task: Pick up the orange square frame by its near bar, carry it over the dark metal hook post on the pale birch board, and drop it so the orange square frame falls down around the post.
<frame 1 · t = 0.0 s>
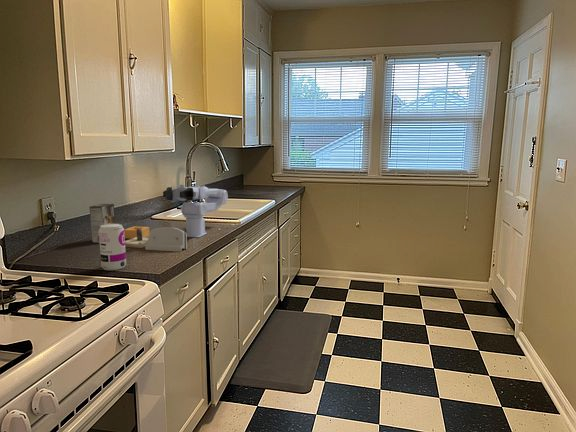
hand: (172, 194, 184), 22 cm above the worktop, tool horizontal, fingers open, 7 cm apart
coffee box: (104, 240, 197), on the worktop
supplement can: (114, 268, 154), on the worktop
orange square frame: (137, 236, 204), on the worktop
keeper board: (140, 243, 191), on the worktop
grey napkin holder: (167, 249, 182), on the worktop
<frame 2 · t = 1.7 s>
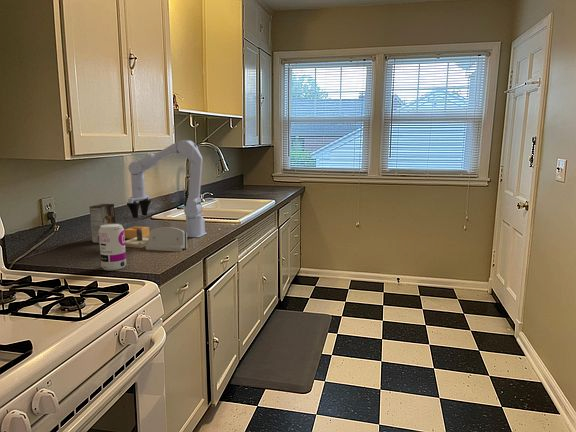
hand: (140, 216, 206), 9 cm above the worktop, tool pointing down, fingers open, 7 cm apart
nothing on the worktop moved.
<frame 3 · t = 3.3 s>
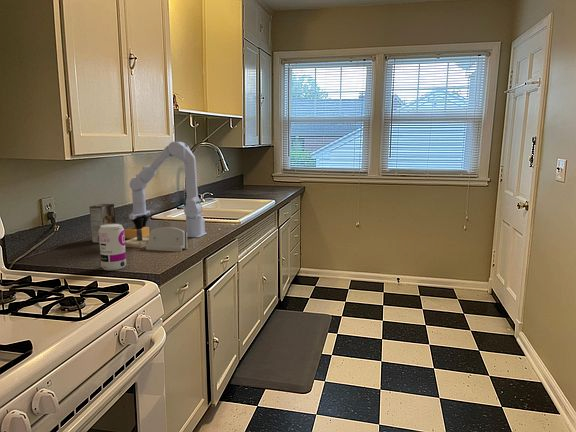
hand: (141, 232, 207), 2 cm above the worktop, tool pointing down, fingers closed on orange square frame
orange square frame: (137, 236, 204), on the worktop, touching gripper
everything else where it was.
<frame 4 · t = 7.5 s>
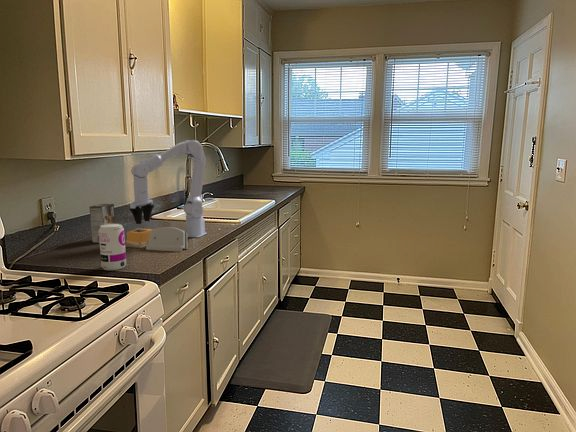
hand: (142, 222, 192), 9 cm above the worktop, tool pointing down, fingers open, 6 cm apart
orange square frame: (141, 239, 191), point 1 cm above the worktop, touching keeper board
everything else where it was.
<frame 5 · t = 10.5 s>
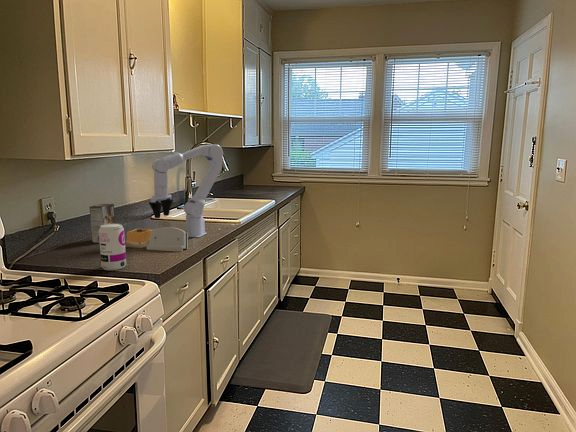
hand: (161, 216, 197), 10 cm above the worktop, tool pointing down, fingers open, 7 cm apart
nothing on the worktop moved.
at the end: orange square frame 0.8 cm from the keeper board (horizontally); orange square frame point 1.5 cm above the worktop; the gripper is holding nothing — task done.
